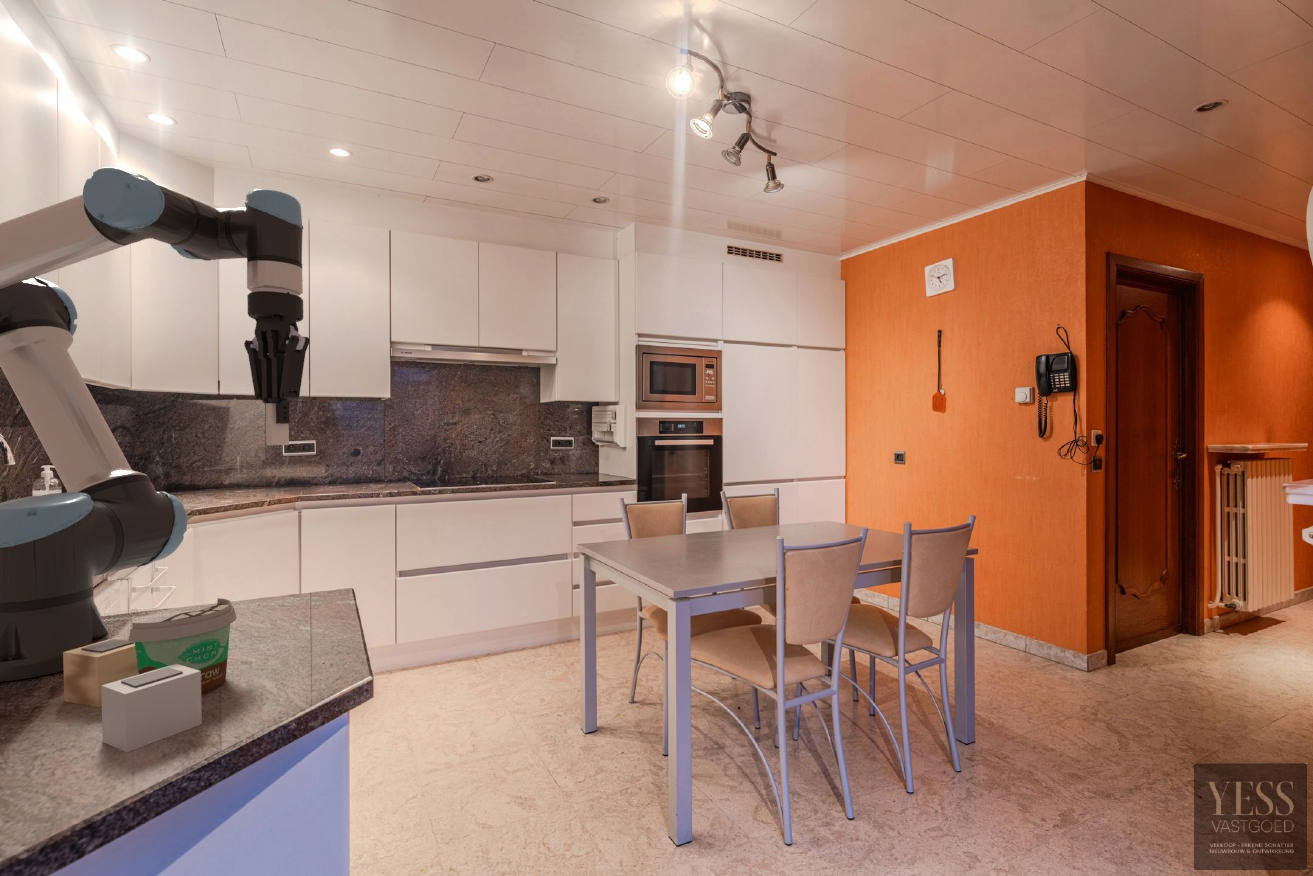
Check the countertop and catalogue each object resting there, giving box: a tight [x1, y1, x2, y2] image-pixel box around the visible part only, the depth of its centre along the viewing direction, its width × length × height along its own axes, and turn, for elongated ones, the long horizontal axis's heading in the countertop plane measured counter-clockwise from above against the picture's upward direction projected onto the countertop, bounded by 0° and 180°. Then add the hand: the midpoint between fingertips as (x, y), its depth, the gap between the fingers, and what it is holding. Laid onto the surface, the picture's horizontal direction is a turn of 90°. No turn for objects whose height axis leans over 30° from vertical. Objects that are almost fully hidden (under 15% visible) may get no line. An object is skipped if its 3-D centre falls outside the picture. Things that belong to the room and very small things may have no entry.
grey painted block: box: [101, 664, 203, 753], centre depth 69 cm, size 5×7×6 cm
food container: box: [128, 597, 238, 696], centre depth 81 cm, size 12×6×10 cm, turn 166°
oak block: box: [63, 636, 139, 708], centre depth 80 cm, size 6×6×6 cm
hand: (277, 444), depth 101 cm, fingers closed
